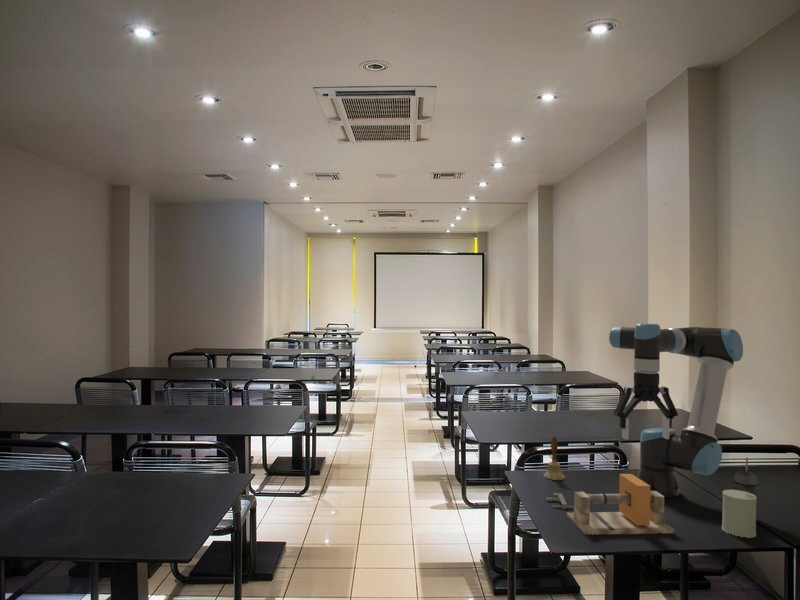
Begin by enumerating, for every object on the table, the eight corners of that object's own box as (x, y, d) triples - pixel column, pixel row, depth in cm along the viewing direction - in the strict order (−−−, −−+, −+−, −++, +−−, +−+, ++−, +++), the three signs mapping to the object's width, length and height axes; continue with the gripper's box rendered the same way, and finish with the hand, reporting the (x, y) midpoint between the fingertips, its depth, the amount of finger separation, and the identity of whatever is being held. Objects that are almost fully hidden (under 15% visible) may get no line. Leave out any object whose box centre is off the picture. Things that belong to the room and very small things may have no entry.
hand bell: (544, 479, 223) (545, 439, 223) (542, 473, 231) (543, 434, 231) (566, 481, 222) (566, 440, 222) (563, 474, 230) (564, 435, 230)
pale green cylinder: (756, 540, 169) (757, 500, 169) (720, 533, 173) (721, 494, 173) (756, 530, 176) (757, 491, 176) (722, 523, 181) (722, 486, 181)
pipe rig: (648, 514, 188) (649, 485, 188) (674, 533, 173) (674, 501, 173) (566, 515, 186) (566, 486, 186) (584, 534, 171) (585, 502, 171)
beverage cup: (754, 515, 189) (755, 455, 189) (760, 523, 182) (762, 460, 182) (730, 512, 191) (731, 452, 191) (735, 519, 184) (736, 458, 184)
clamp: (544, 491, 203) (573, 493, 202) (544, 498, 203) (573, 499, 202) (550, 507, 188) (582, 509, 187) (550, 513, 188) (581, 515, 187)
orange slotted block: (630, 510, 186) (631, 473, 186) (649, 525, 174) (650, 485, 174) (618, 510, 185) (619, 473, 185) (637, 525, 173) (637, 486, 173)
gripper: (676, 370, 186) (675, 435, 186) (603, 370, 184) (602, 435, 184) (690, 373, 179) (689, 440, 179) (614, 373, 176) (613, 441, 176)
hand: (645, 438), depth 181 cm, fingers open, 13 cm apart
